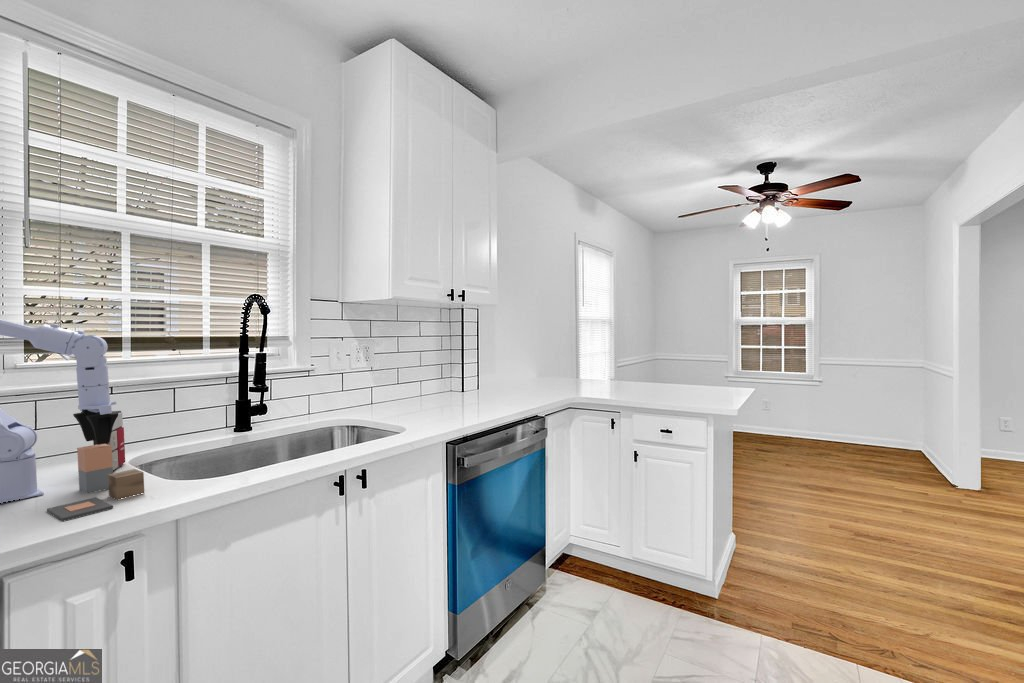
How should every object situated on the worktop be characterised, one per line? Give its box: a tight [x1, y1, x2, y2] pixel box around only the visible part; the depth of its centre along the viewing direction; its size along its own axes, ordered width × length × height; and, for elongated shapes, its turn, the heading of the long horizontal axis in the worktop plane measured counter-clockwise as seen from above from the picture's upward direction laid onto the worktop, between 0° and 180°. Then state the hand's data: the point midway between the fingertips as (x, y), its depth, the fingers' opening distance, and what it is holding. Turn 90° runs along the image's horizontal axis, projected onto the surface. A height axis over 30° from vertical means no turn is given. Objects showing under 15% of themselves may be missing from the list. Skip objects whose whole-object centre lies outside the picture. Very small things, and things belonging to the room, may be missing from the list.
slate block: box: [77, 467, 114, 494], centre depth 117 cm, size 5×5×5 cm
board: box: [46, 496, 114, 522], centre depth 103 cm, size 10×8×1 cm
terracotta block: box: [76, 444, 113, 472], centre depth 117 cm, size 5×5×5 cm
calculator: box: [92, 410, 126, 471], centre depth 133 cm, size 11×4×15 cm, turn 22°
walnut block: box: [108, 468, 145, 501], centre depth 112 cm, size 5×5×5 cm
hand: (97, 442), depth 119 cm, fingers open, 7 cm apart
